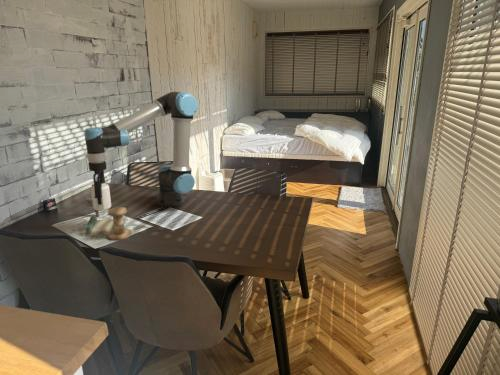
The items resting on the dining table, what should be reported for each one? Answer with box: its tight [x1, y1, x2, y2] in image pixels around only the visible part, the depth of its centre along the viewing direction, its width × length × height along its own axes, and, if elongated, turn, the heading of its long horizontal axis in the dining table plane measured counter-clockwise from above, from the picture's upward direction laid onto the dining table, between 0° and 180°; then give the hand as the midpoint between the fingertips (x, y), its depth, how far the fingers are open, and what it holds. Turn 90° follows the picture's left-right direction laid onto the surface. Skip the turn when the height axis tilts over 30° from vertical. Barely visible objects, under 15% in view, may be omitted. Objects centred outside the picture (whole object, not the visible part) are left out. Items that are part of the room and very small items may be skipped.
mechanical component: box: [85, 197, 100, 218], centre depth 185 cm, size 3×10×10 cm, turn 79°
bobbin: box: [107, 206, 132, 241], centre depth 162 cm, size 10×10×13 cm
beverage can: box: [90, 182, 112, 212], centre depth 167 cm, size 8×8×12 cm
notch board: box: [84, 214, 125, 237], centre depth 172 cm, size 16×16×4 cm
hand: (102, 207), depth 168 cm, fingers closed on beverage can, 8 cm apart
